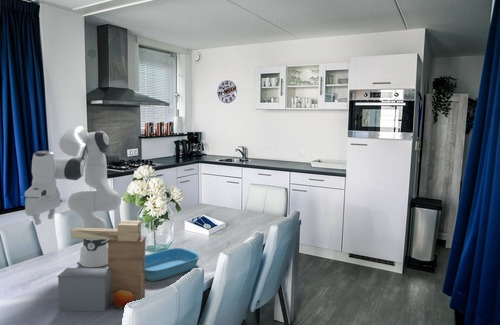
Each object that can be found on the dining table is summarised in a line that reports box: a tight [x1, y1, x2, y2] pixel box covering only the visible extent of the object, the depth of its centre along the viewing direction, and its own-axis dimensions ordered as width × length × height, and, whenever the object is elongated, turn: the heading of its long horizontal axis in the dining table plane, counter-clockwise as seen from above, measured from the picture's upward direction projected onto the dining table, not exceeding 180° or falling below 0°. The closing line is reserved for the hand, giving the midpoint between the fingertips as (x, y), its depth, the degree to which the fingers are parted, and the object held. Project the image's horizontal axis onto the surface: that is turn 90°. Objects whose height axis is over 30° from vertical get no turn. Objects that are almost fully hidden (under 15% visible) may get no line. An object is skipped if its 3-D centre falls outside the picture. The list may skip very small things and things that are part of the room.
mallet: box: [70, 219, 142, 241], centre depth 156 cm, size 7×28×7 cm, turn 93°
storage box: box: [57, 267, 112, 312], centre depth 148 cm, size 8×18×14 cm, turn 93°
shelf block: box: [107, 235, 147, 301], centre depth 158 cm, size 7×14×26 cm, turn 93°
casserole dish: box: [145, 247, 200, 282], centre depth 188 cm, size 37×22×7 cm, turn 138°
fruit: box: [112, 290, 134, 311], centre depth 150 cm, size 8×8×8 cm
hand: (44, 221), depth 154 cm, fingers open, 8 cm apart
